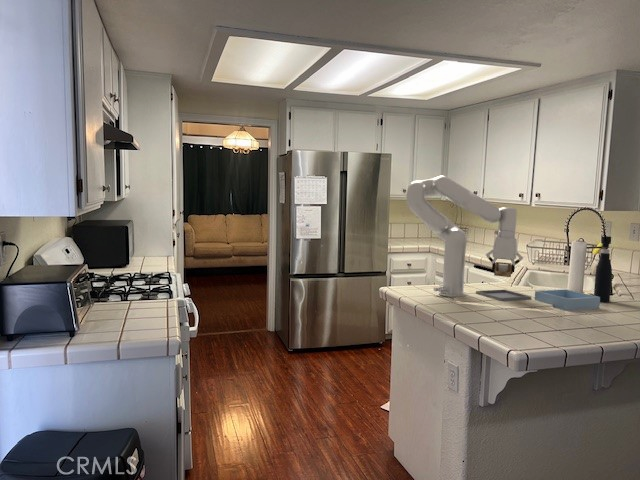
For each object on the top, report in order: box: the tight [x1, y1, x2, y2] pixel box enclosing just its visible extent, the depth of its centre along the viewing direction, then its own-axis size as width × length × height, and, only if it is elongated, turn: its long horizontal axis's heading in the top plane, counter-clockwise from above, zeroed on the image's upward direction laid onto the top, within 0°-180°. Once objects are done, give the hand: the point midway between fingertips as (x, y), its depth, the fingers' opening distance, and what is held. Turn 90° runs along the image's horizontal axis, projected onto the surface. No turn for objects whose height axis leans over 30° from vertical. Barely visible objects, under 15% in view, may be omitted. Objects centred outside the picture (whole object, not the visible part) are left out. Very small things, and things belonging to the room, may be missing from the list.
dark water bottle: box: [593, 235, 613, 303], centre depth 222 cm, size 6×6×30 cm
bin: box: [534, 289, 601, 312], centre depth 212 cm, size 18×18×5 cm
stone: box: [498, 264, 508, 272], centre depth 223 cm, size 4×4×4 cm
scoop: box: [493, 261, 512, 278], centre depth 222 cm, size 7×12×5 cm, turn 159°
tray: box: [475, 289, 532, 302], centre depth 223 cm, size 17×17×2 cm
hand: (502, 272), depth 222 cm, fingers closed on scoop, 7 cm apart
